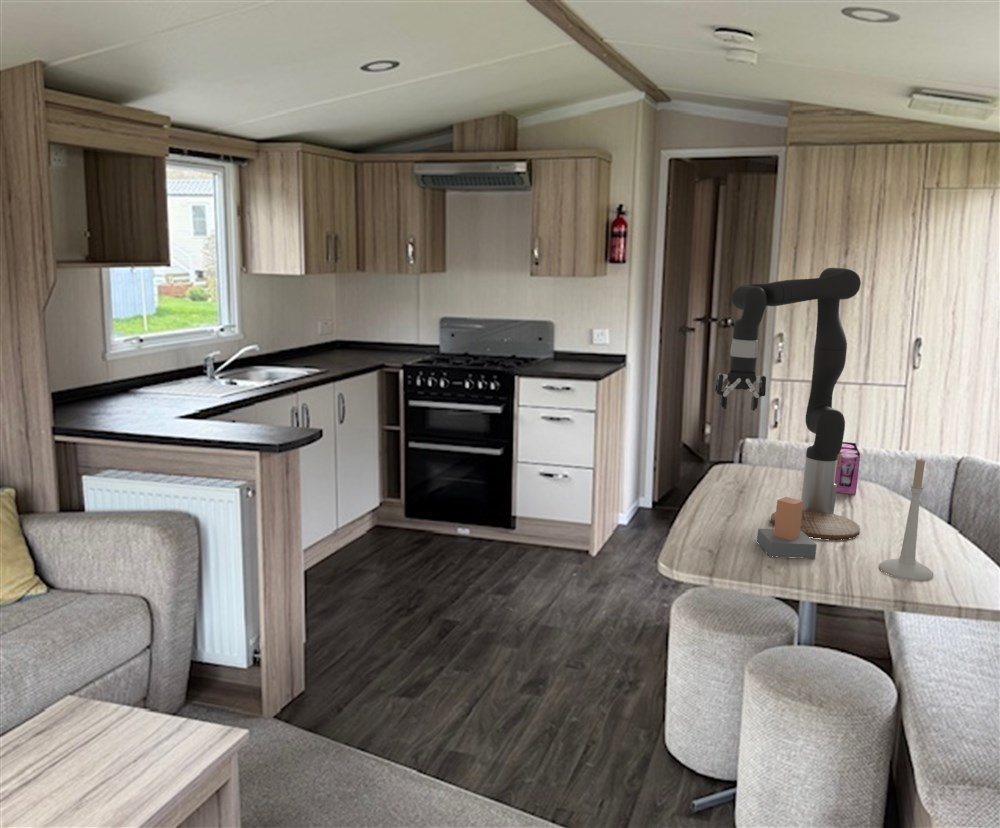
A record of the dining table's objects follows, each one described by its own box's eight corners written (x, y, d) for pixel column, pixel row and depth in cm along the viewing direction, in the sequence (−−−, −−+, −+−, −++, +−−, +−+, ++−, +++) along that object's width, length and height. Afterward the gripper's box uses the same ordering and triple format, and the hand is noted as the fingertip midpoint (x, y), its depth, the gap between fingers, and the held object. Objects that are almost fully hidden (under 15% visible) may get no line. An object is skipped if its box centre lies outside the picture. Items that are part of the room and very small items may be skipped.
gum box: (856, 496, 305) (861, 456, 302) (832, 493, 307) (836, 454, 305) (851, 479, 327) (856, 442, 325) (828, 476, 330) (833, 440, 327)
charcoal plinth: (799, 544, 251) (801, 530, 250) (815, 558, 239) (816, 544, 239) (756, 542, 251) (758, 528, 250) (769, 557, 239) (771, 542, 238)
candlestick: (887, 559, 242) (901, 449, 236) (939, 571, 234) (955, 458, 228) (872, 571, 232) (886, 457, 226) (925, 584, 224) (941, 467, 218)
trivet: (866, 545, 254) (867, 539, 253) (774, 536, 258) (774, 529, 258) (851, 519, 278) (852, 514, 277) (766, 511, 283) (767, 505, 282)
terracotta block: (782, 532, 248) (785, 496, 246) (799, 536, 245) (803, 501, 243) (773, 535, 244) (777, 500, 242) (790, 540, 241) (794, 504, 239)
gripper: (722, 355, 261) (717, 410, 264) (771, 357, 261) (766, 412, 264) (716, 352, 268) (711, 406, 271) (764, 354, 268) (758, 408, 271)
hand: (738, 409), depth 267 cm, fingers open, 8 cm apart
